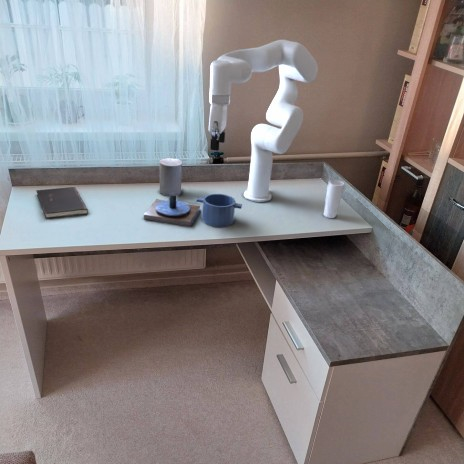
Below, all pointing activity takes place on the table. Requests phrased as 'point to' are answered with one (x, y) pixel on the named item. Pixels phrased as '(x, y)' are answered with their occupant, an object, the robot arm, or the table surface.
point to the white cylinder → (333, 197)
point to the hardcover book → (61, 202)
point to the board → (180, 220)
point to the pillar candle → (170, 176)
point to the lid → (172, 207)
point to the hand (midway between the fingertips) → (217, 146)
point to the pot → (218, 209)
